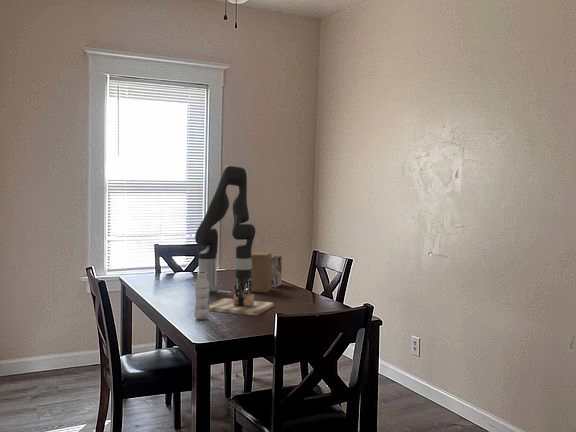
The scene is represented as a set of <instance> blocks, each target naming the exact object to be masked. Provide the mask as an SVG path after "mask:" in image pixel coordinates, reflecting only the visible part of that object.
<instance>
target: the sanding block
mask: <svg viewBox="0 0 576 432" xmlns="http://www.w3.org/2000/svg"><path fill="white" fill-rule="evenodd" d="M232 299H233V305H238V297H236V293H235V294H233V298H232ZM254 301H255V294H253V293H249V294H244V296H243V306H251V305H253V304H254Z"/></svg>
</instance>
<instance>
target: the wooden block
mask: <svg viewBox="0 0 576 432" xmlns="http://www.w3.org/2000/svg"><path fill="white" fill-rule="evenodd" d="M272 256H273V254H272V253H271V252H266V251H265V252H262V251H260V252H259V251H255V252H253V253H252V252H251V260H252V277H251V278H250V279H249V280H252V284H251V293H264V294H266V293H268V292H269V291H271V289H272V287H271V259H272Z"/></svg>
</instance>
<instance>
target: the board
mask: <svg viewBox="0 0 576 432" xmlns="http://www.w3.org/2000/svg"><path fill="white" fill-rule="evenodd" d="M273 307H274V302H271V301H270V302H269V301H258V300H257V301H256V300H254V304H253V305H251V306H239V305H233V298H225V297H223V298H220V299H219V300H216V301H214V302H212V303H209V309H210V312H219V313H229V314H240V315H250V316H259V315H260V314H262V313H264V312H266V311H267V310H269V309H271V308H273Z"/></svg>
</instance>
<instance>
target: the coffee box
mask: <svg viewBox="0 0 576 432" xmlns="http://www.w3.org/2000/svg"><path fill="white" fill-rule="evenodd" d="M282 261H283V260H282V256H280V255H272V259H271V288H277V287H280V286H281V285H282Z"/></svg>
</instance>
